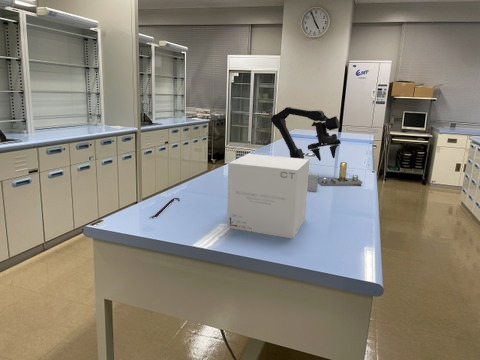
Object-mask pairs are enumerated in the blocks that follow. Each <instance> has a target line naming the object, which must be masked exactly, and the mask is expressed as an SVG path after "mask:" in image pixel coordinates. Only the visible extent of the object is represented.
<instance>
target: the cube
mask: <svg viewBox="0 0 480 360" xmlns="http://www.w3.org/2000/svg"><path fill="white" fill-rule="evenodd" d="M227 167H228V168H227V171H228V172H227V209H226V212H227V213H226V215H227V217H226V218H227V221H226V228H229V229H235V230H239V229H240V231H245V230H247V232H251V231H252V232H251V233H258V234H264V235H271V236H276V237H281V238H282V237H283V238H287V239H294V238H295V236H296V234H297V233H298V231H299V230H300V228H301V227H302V225H303V223H304V222H305V220H306V215H307V214H306V213H307V212H306V211H307V198H308V197H307V196H308V191H307V187H308V174H309V173H310V172H309V170H310V159H308V158H304V159H299V158H290V156H288V157H287V156H276V155H266V154H255V153H247V154H245V155H243V156H241V157H238V158H236V159H234V160H232V161H230V162H228V164H227Z"/></svg>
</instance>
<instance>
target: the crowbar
mask: <svg viewBox="0 0 480 360" xmlns="http://www.w3.org/2000/svg"><path fill="white" fill-rule="evenodd" d="M174 199H176V200H177V199H178V202H181V198H179V197H174V198H171V200H170V201H168V202H167V203H166V204H165V205H164V206H163V207H162V208H160V210H159V211H157V212H156V213H155V214H154V215H152V216H149V217H148V218H149V219H151V218H152V219H153V217H156V218H158V216H159V214H160V213H161V212H162V211H163V210H164V209H165V208H166V207H167V206H168V205H169V204H170V203H171V204H172V203H173V202H174V201H175V200H174ZM171 204H170V205H171ZM170 205H169V206H170ZM169 206H168V207H169ZM168 207H167V208H168ZM167 208H166V209H167ZM166 209H165V210H166ZM165 210H164V211H165ZM164 211H163V212H164ZM163 212H162V213H163ZM162 213H161V214H162ZM161 214H160V215H161Z"/></svg>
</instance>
